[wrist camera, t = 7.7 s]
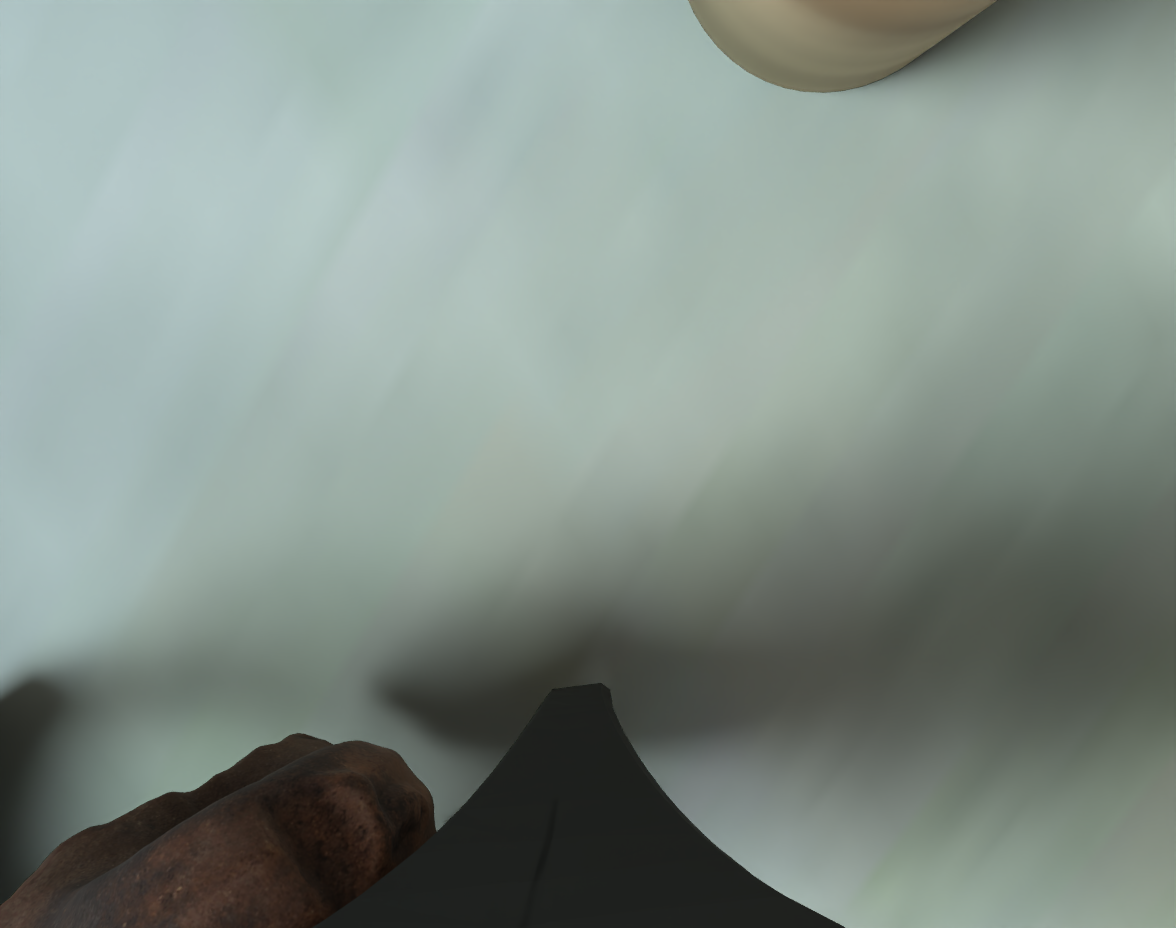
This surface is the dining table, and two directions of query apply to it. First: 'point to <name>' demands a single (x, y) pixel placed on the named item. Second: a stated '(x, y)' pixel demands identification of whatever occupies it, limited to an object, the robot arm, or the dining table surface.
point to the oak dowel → (829, 37)
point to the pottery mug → (239, 846)
